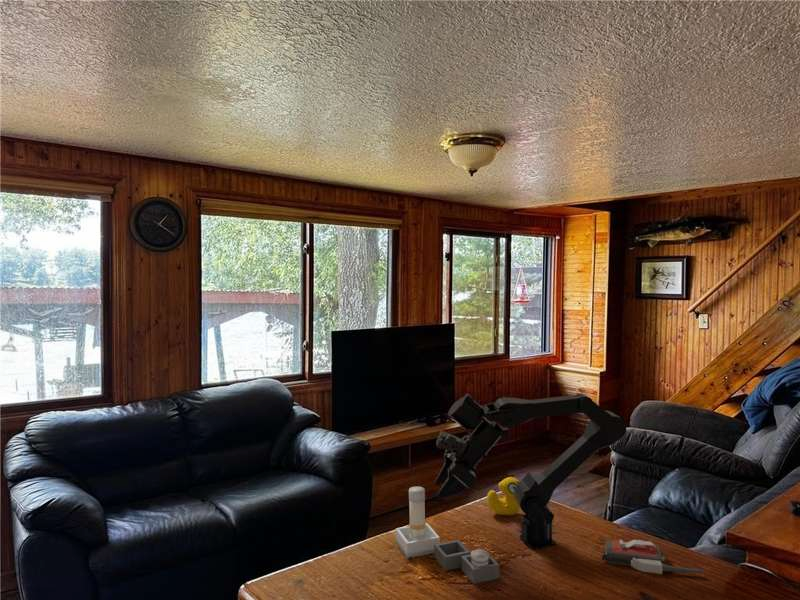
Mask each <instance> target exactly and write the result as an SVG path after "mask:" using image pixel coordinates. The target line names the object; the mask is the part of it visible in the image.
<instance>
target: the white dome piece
mask: <svg viewBox="0 0 800 600" xmlns="http://www.w3.org/2000/svg"><path fill="white" fill-rule="evenodd" d="M470 554H471V560H472V565H473V566H474V567H475V568H476V567H481V566H485V565H488V561H489V555H490V554H489V552H488V551H486V550H485V549H480V548H479V549H473V550H472V551H470Z"/></svg>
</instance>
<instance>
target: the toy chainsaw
mask: <svg viewBox="0 0 800 600" xmlns="http://www.w3.org/2000/svg"><path fill="white" fill-rule="evenodd" d="M604 547H605V548H604V549H605V554H602V555H601V560H602V561H604V562H605V561H606V562H607V563H609V564H612V565H613V564H614V565H620V566H629V567H632V568H633V569H635V570H638V571H639V572H642V573H643V572H644V573H651V574H652V573H653V574H657V575H663V572H673V573H682V574H689V573H693V574H700V575H702V574H704V573H703V570H702V569H700V568H699V569H698V568H691V567H688V568H687V567H682V566H681V567H680V566H671V565H668V564H665V563H663V562H665V557H664V550H663V549H660V547H659V546H658V545H656V544H655V543H654V542H652V541H649V540H642V539H641V540H640V539H632V540H631V541H623V539H619V540H618V541H617V540H612V539H609V540H608V539H605V546H604Z"/></svg>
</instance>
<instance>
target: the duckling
mask: <svg viewBox="0 0 800 600" xmlns="http://www.w3.org/2000/svg"><path fill="white" fill-rule="evenodd" d="M519 481H520V480H518V479H517V478H516V477H514V476H508V477H506V478H504V479H502V480H501V481H500V482H499V483H498V488H499V490H500V491H501V493H502V494H503V495H504V496H503V497H501V498H500V497H498V494H497V491H495V490H494V489H492V490H489V491H488V493H487V495H486V502H487V507H488V508H489V509H490V511H492V512H493V513H495V514H498V515H500V516H513V515H516V514H517V513H518V512H520V511H521V508H520V506H519V505H518V503H517V501H516V500H515V497H514V490H515V488H516V487H517V485H518V484H517V482H519Z"/></svg>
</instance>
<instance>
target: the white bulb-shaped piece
mask: <svg viewBox="0 0 800 600" xmlns="http://www.w3.org/2000/svg"><path fill="white" fill-rule="evenodd" d="M425 493H426V489H425V487H422V486H411V487H410V488H409V489H408V501H409V502H408V503H409V505H408V506H409V526H410V542H411V541H416V540H422V539H425V523H426V517H425V514H426V513H425V511H426V510H425V500H426V494H425Z"/></svg>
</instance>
